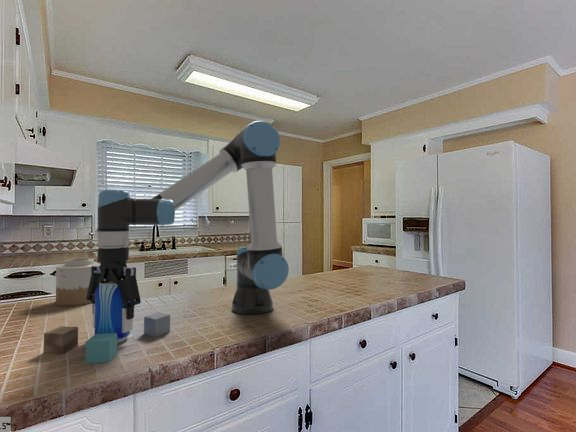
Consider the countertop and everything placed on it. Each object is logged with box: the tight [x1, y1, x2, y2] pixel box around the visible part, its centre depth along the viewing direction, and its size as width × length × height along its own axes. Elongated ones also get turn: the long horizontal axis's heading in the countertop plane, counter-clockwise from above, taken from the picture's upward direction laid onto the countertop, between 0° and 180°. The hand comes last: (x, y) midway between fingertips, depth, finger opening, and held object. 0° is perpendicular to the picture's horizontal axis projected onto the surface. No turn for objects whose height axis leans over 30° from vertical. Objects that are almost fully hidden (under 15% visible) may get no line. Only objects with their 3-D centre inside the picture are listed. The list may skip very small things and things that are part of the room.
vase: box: [55, 257, 101, 307], centre depth 127 cm, size 15×15×17 cm
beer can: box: [94, 279, 131, 345], centre depth 86 cm, size 8×8×16 cm
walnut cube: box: [43, 325, 79, 355], centre depth 80 cm, size 5×5×5 cm
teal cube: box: [85, 333, 118, 364], centre depth 75 cm, size 5×5×5 cm
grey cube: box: [143, 311, 171, 338], centre depth 92 cm, size 5×5×5 cm
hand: (112, 328), depth 86 cm, fingers open, 10 cm apart
